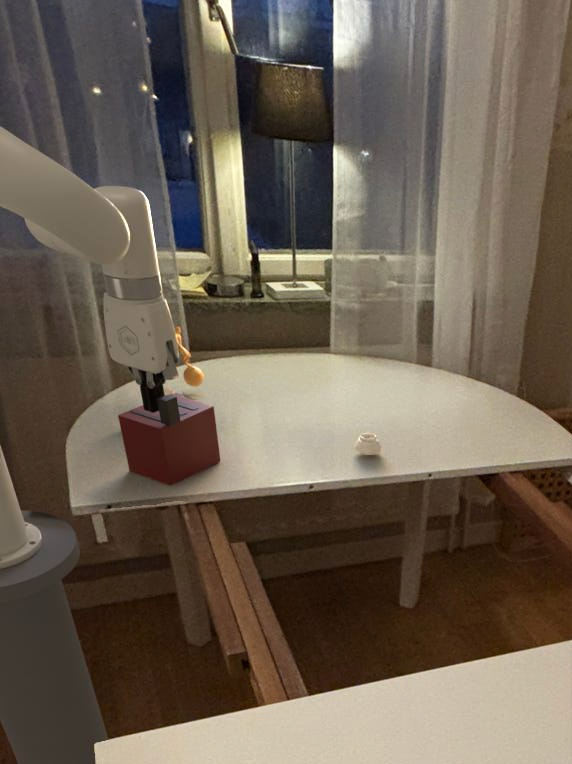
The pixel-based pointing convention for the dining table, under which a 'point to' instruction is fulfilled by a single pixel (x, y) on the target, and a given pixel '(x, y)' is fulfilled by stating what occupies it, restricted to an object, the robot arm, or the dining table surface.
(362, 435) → the white jar
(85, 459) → the dining table surface
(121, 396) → the dining table surface
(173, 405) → the slider
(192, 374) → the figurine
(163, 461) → the toaster
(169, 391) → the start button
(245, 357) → the dining table surface
